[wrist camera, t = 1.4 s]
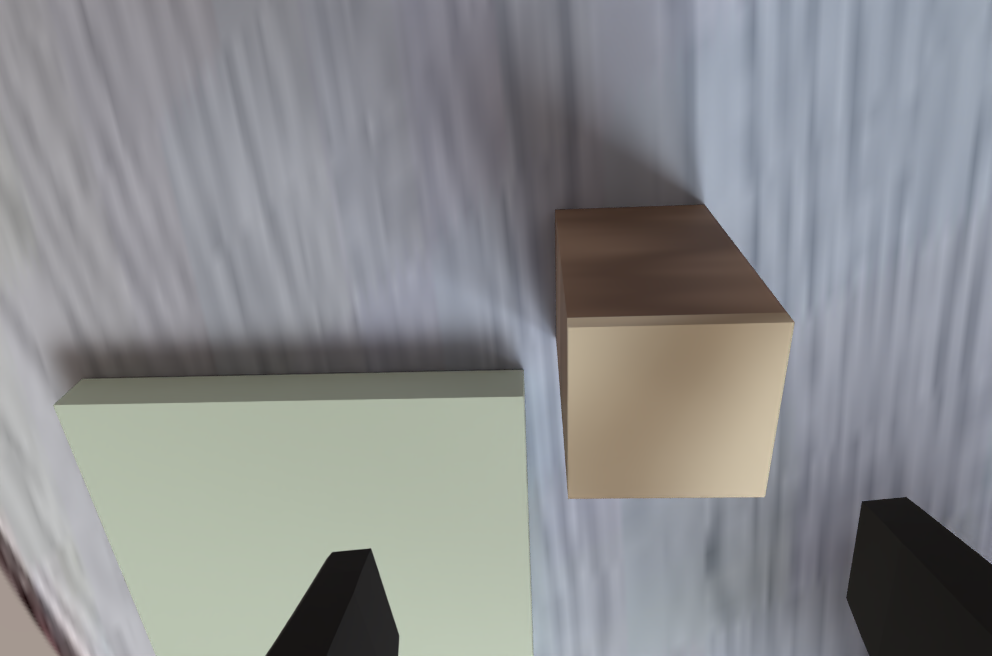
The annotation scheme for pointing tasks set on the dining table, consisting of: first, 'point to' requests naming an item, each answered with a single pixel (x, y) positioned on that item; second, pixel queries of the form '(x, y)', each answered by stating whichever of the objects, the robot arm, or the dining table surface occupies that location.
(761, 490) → the block
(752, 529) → the dining table surface
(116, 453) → the board
